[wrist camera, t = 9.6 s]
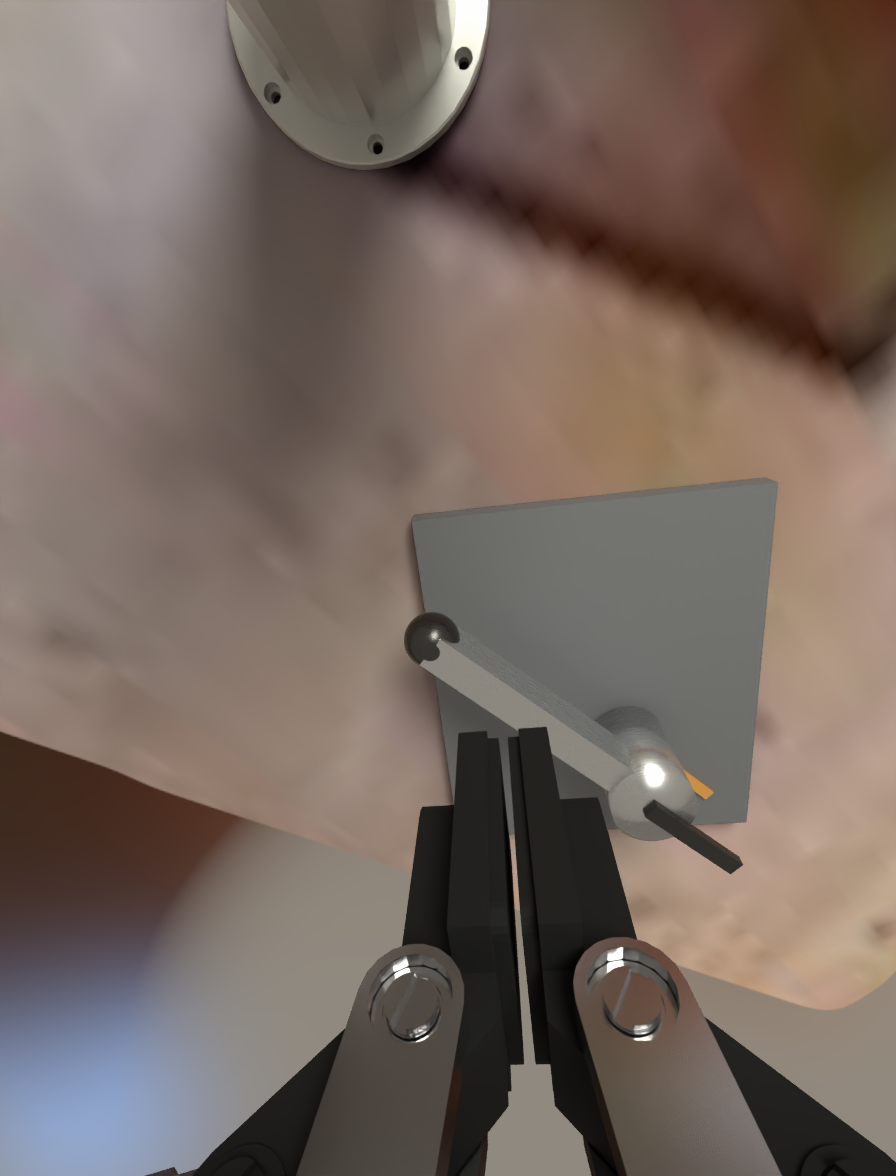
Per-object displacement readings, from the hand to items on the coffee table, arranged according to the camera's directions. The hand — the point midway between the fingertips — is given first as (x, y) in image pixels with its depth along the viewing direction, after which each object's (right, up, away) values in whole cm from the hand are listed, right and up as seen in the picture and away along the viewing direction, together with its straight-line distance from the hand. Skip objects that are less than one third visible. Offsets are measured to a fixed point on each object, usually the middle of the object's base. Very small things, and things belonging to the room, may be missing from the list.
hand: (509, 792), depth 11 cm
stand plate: (+9, -2, +30) cm, 31 cm away
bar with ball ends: (+7, -3, +28) cm, 29 cm away
